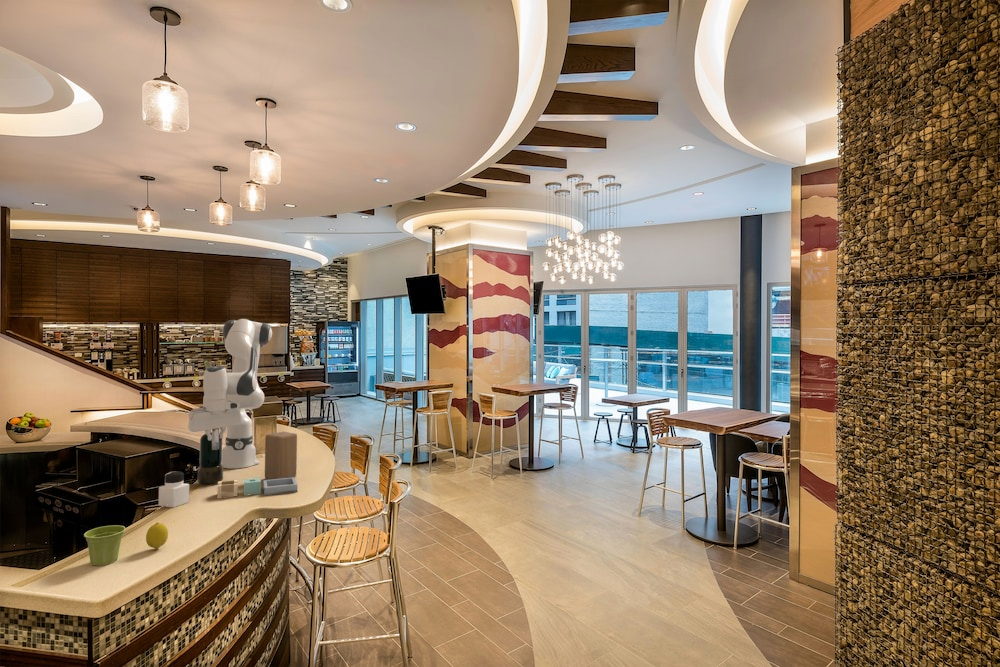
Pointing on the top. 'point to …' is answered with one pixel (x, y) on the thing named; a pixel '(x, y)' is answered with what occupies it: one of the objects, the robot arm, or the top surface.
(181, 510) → the top surface
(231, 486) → the wide bore block
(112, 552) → the plant pot
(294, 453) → the block
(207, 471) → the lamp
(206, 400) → the robot arm
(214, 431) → the cylinder
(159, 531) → the lemon
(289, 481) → the tray
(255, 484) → the narrow bore block
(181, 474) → the medicine bottle
